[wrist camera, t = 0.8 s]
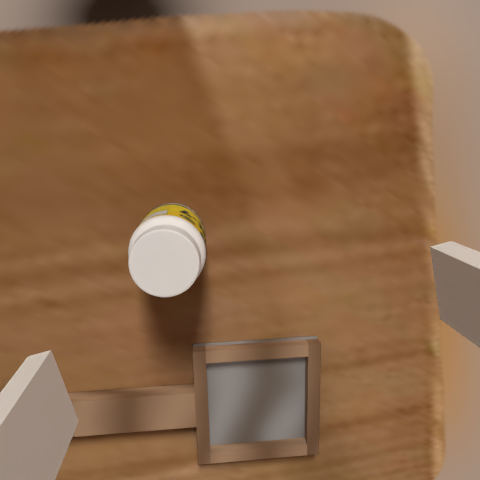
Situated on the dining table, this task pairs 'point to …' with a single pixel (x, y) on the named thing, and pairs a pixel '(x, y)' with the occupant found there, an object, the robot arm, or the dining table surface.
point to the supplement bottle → (167, 250)
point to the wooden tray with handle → (224, 401)
